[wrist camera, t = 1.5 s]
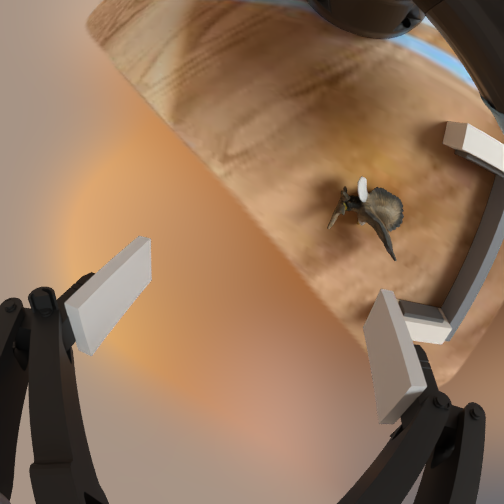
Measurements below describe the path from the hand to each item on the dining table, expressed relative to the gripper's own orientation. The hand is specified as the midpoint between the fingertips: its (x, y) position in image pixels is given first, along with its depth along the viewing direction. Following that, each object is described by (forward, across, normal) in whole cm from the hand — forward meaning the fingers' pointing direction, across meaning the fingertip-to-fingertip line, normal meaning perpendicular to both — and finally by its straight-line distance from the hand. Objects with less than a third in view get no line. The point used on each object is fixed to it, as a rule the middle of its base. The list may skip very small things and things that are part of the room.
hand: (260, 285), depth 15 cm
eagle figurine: (+21, +10, 0) cm, 23 cm away
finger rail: (+20, +22, 0) cm, 30 cm away
